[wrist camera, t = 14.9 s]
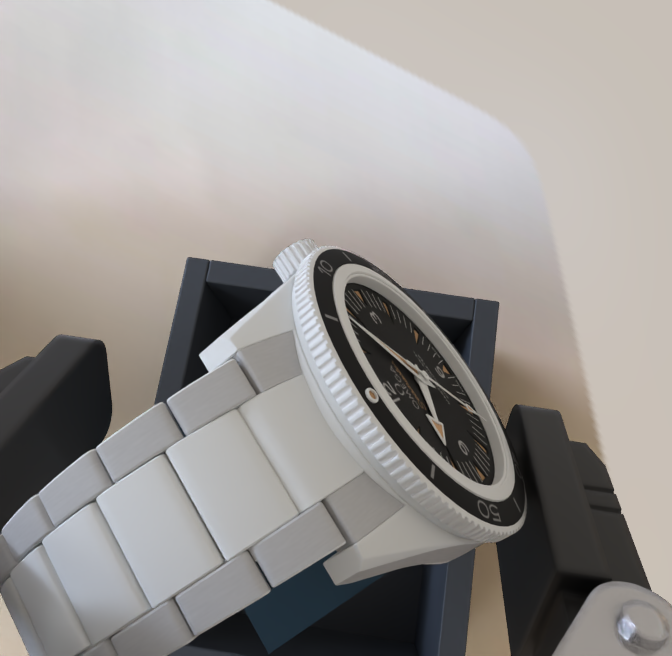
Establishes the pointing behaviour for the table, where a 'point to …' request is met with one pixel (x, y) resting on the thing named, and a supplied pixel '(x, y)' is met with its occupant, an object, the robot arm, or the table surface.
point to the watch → (269, 477)
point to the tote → (395, 586)
